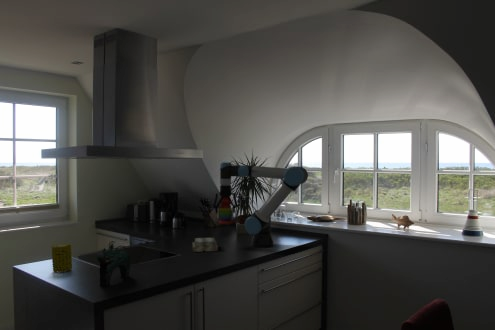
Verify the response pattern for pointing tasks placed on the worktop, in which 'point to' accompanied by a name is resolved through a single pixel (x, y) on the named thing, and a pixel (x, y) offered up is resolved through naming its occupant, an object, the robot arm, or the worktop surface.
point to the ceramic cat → (113, 263)
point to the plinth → (206, 248)
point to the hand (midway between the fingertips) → (225, 217)
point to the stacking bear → (225, 212)
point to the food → (61, 258)
